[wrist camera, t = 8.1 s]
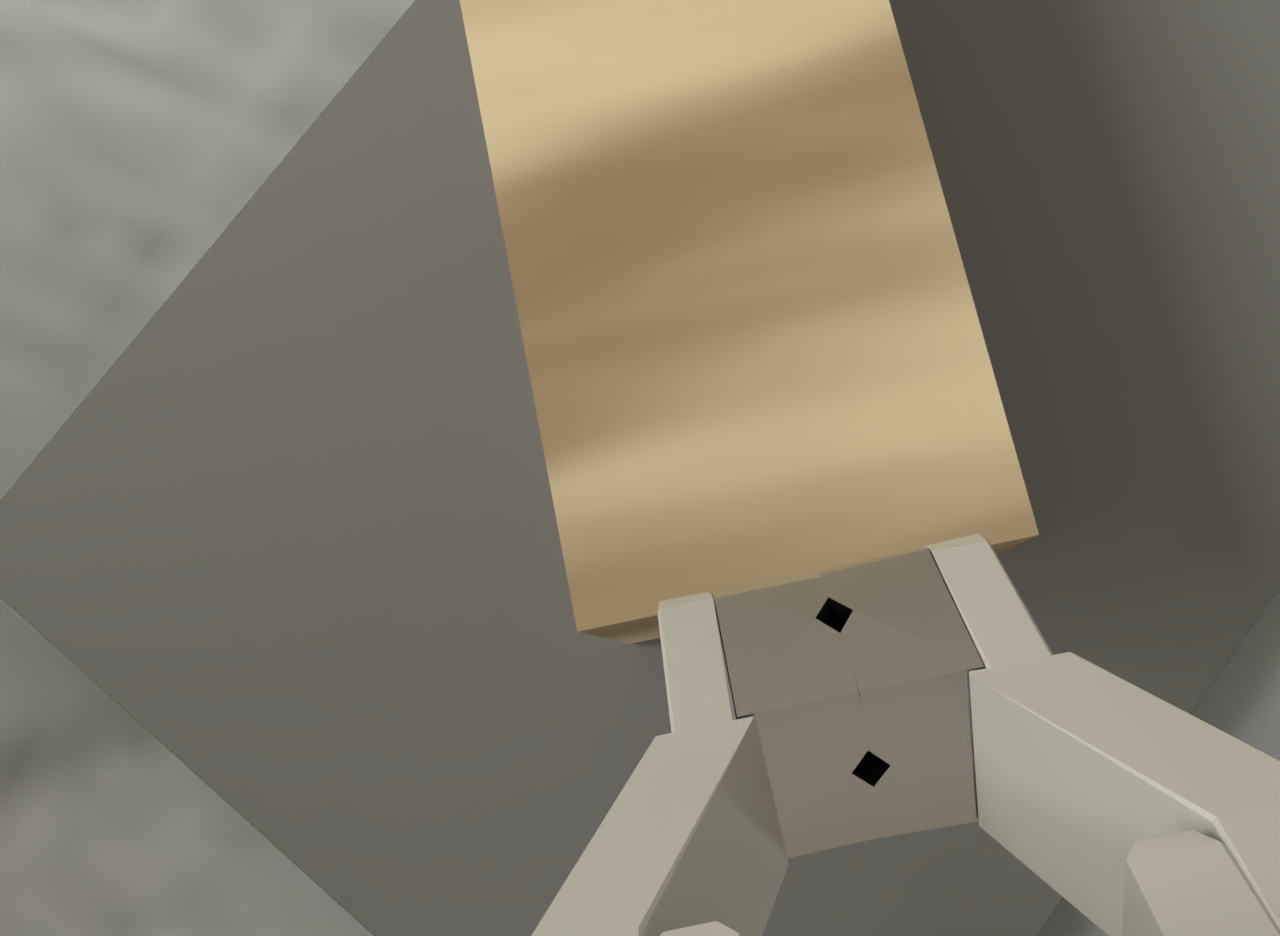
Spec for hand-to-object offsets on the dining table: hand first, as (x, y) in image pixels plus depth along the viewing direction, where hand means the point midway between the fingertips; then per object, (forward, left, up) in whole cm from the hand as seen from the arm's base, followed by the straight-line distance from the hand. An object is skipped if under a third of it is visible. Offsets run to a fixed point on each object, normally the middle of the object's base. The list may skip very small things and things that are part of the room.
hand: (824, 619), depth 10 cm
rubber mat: (+4, +3, -7) cm, 9 cm away
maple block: (0, 0, -4) cm, 4 cm away
